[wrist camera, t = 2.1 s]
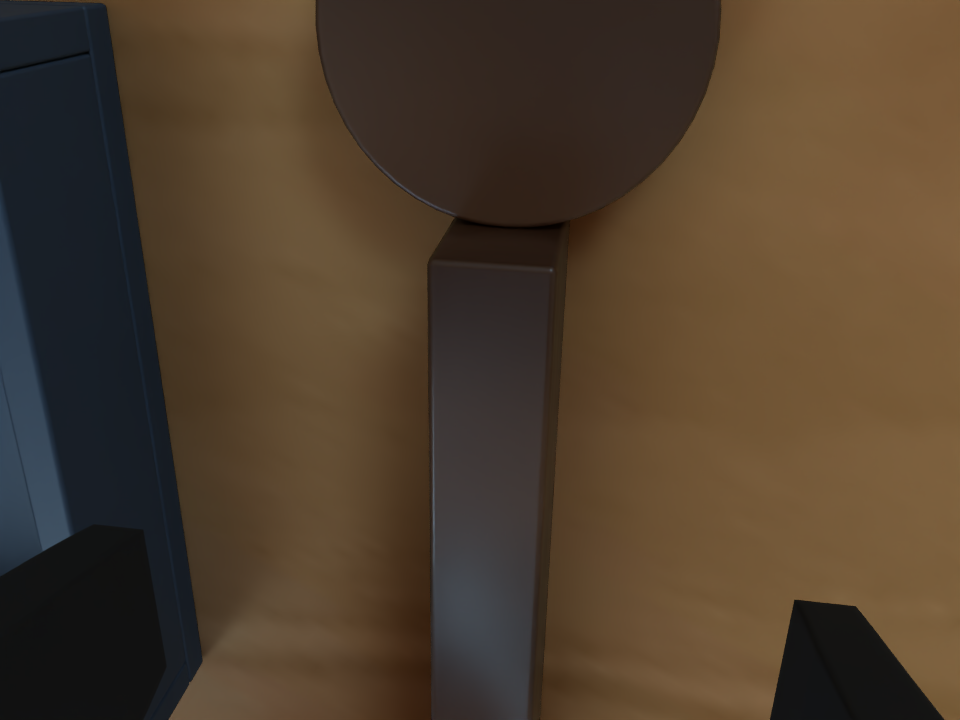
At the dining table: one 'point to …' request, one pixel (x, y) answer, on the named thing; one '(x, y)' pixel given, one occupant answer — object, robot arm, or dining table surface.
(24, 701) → the robot arm
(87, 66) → the tray
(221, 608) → the dining table surface
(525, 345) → the wooden spoon
